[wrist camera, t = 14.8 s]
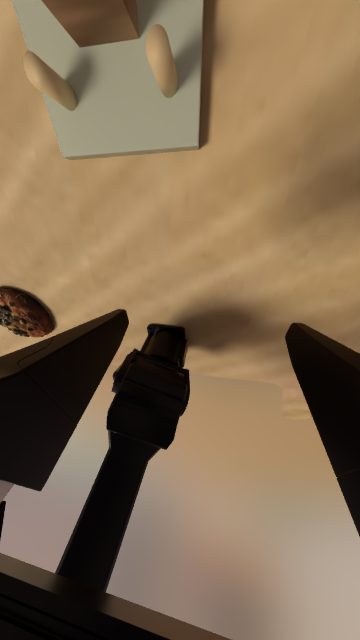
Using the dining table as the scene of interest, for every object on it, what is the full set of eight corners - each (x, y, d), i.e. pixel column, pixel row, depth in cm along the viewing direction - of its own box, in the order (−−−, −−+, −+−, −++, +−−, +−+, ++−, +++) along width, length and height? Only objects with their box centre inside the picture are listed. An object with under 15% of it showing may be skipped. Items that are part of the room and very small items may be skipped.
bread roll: (59, 312, 29) (32, 330, 25) (55, 337, 36) (34, 353, 32) (-3, 271, 26) (-42, 285, 22) (6, 306, 33) (-23, 321, 30)
